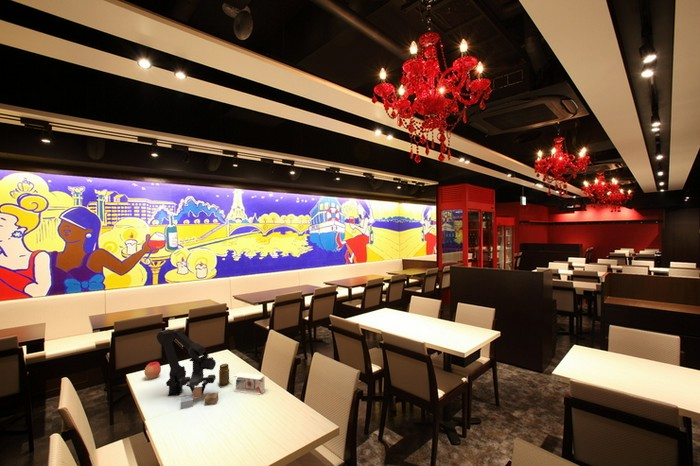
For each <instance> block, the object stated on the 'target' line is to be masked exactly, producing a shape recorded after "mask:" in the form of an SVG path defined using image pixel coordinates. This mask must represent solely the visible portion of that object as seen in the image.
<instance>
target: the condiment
mask: <svg viewBox="0 0 700 466" xmlns="http://www.w3.org/2000/svg"><path fill="white" fill-rule="evenodd" d="M218 374H219V375H218V376H219V377H218V382H216V385H218V387H220V388H225V387H229V386H231V385H232V386H233V384H232V382H231V381H230V367H229V363H222V364H220V365H219V369H218Z"/></svg>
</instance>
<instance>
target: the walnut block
mask: <svg viewBox="0 0 700 466" xmlns="http://www.w3.org/2000/svg"><path fill="white" fill-rule="evenodd" d="M218 400H219V392H209V393H206V396H205V397H204V406H212V405H217V403H218Z"/></svg>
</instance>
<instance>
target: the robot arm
mask: <svg viewBox="0 0 700 466" xmlns="http://www.w3.org/2000/svg"><path fill="white" fill-rule="evenodd" d="M174 339H175V340H176V341H177V342H178V343H180V345H182V346H183V347H184V349H186V350H187V353H188V355H189V356H190V357H191V358H190V359H189V362H192V372H191V376H186V375H187V371H186V368H185V366H184V365H183V366H181V365H180V361H179V359H178V356H177V354H176V350H175V347H174V344H173V341H174ZM156 340H157V342H158V343H159V344H160V346H162V347H163V349H164V353H165V356H166V360H167V362H168V366H169V368H170V369H169V370H170V371H169V374H168V375H169V379H168V380H167V381H165V384H166V387H168V394H167V396H168V397H173V396H180V395H181V393H182V392H183V390H184V387H183V386H186V387H188V388H190V390H191V393H192V394H193V390H194V388H195V387H199V385H200V384H201V386H202V394H203V395H204V392H205V389H206V386H207V385H208V384H213V383H214V382H215V381H216V377H217V376H216V375H215V374H209V375H208V376H207V377H206V376H205V375H204V370H208V371H213V370H214V369H215V368H216V363H217V362H216V360H215V359H214V357H211V356H210V355H209V354H208V352H207V350H206V349H205V346H203V345H201V344H199V343H196V342H194V341H193V340H191V339H190V338H189V337H188V336H187V335H185V333H183V331H182V330H181V329H179V328H178V329H169V328H168V329H165V330H162V331H159V332H158V333H157V334H156ZM204 376H205V377H204Z"/></svg>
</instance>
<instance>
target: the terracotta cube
mask: <svg viewBox="0 0 700 466" xmlns="http://www.w3.org/2000/svg"><path fill="white" fill-rule="evenodd" d="M192 395H193V399H198V398H200V399H201V398H202V397H203V395H204V393H203V394H202V385H201V386H195V388H194V390H193V393H192Z"/></svg>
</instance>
